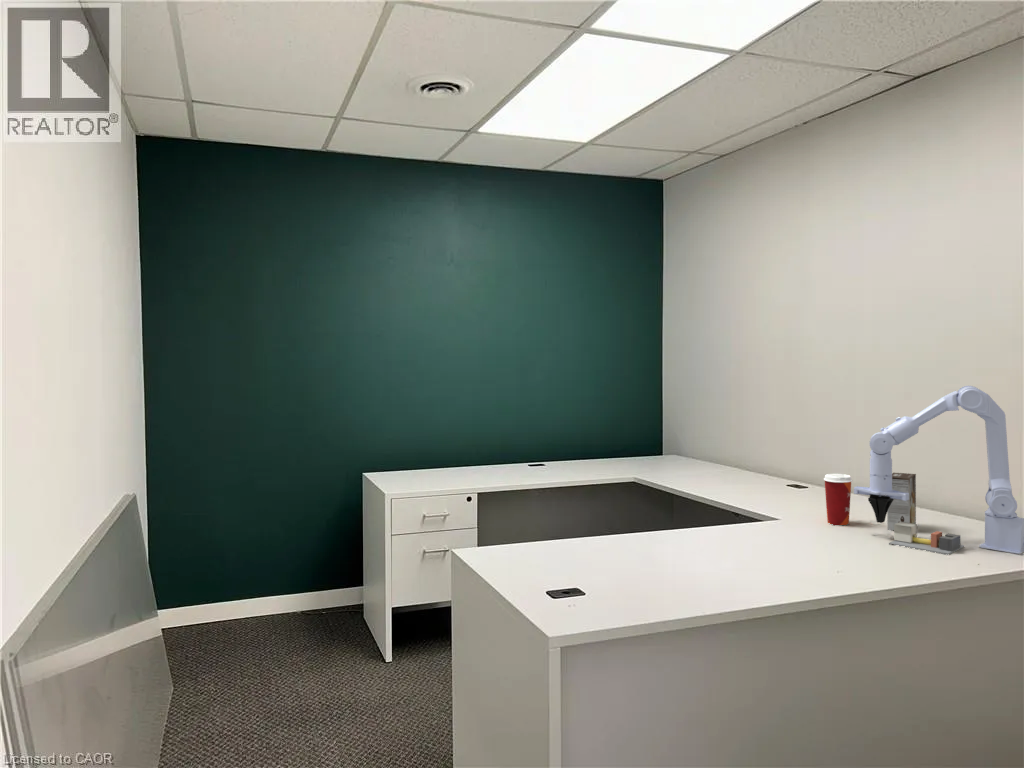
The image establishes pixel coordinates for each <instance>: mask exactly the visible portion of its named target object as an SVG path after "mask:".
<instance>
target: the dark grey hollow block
mask: <svg viewBox="0 0 1024 768" xmlns="http://www.w3.org/2000/svg"><path fill="white" fill-rule="evenodd" d="M960 545H961V534H955V533H949V532H948V533H946V534H944V535H942V537H939V549H940V550H946V551H951V552H952V551H954V550H956V549H958V548H960Z"/></svg>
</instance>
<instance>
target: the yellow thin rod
mask: <svg viewBox="0 0 1024 768" xmlns="http://www.w3.org/2000/svg"><path fill="white" fill-rule="evenodd" d="M912 542H916V543H922V544H928V545H931V539H929V538H923V537H922V538H921V537H918V536H917V537H912ZM938 545H939V543H938Z"/></svg>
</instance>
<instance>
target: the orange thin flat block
mask: <svg viewBox="0 0 1024 768" xmlns="http://www.w3.org/2000/svg"><path fill="white" fill-rule="evenodd" d="M942 536H943V531H938V530H936V531H934V532H931V533H930V540H931V547H934V548H937V547H939V545H938V543H939V537H942Z"/></svg>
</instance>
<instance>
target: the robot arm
mask: <svg viewBox="0 0 1024 768" xmlns="http://www.w3.org/2000/svg"><path fill="white" fill-rule="evenodd" d="M959 407H960V408H962V410H964V411H967V412H970V413H974V414H975V415H977V416H978V417H980V418H981V419H982V420H983V421H984V423H985V424H984V425H985V426H984V427H985V439H986V442H985V443H986V454H987V455H986V456H987V469H988V471H987V472H988V490H987V492H986V493H985V496H984V498H985V499H984V501H985V502H986V504H987V506H988V508H987V509H986V510H985V511H984V542H983V543H981V544H979V545H978V547H979V548H981V549H988V550H993V551H1000V552H1006V553H1011V554H1016V555H1017V554H1018V555H1020V554H1022V553H1024V518H1023V517H1019V516H1018V513H1017V512H1016V511H1017V509H1018V503H1017V500H1016V498H1015V497H1014V495H1013V489H1012V484H1011V478H1010V467H1009V466H1010V464H1009V463H1010V462H1009V449H1008V436H1007V434H1008V433H1007V419H1006V414H1005V411H1004V410H1003V409H1002V408H1001V407H1000V406H999V404H997V402H996V401H995V400H994V399H993V397H991V395H990V394H988V393H987V392H985V391H984V390H981V389H980V388H978V387H976V386H973V385H964V386H962V387H960V388H959V389H958V390H954V391H952V392H950V393H948V394H945V395H944V396H942V397H940V398H939V399H937V400H936V401H934V402H933V403H932V404H930V405H928V406H927V407H925V408H923V409H922V410H920V411H919V412H918V413H916V414H915V415H913V416H906V415H904V416H902V417H900V416H898V417H896V418H895V421H894V422H892V423H891V424H889V425H887V426H886V427H881V428H880V429H879V430H880V431H879V432H875V433H874V434H872V435H871V437H870V438H869V439H870V440H869V448H870V449H871V450H870V452H869V455H870V458H869V487H867V486H858V485H857V486H854V487H853V494H854V495H865V496H869V497H868V498H867V499H868V502H869V504H870V506H871V509H872V510H873V512H874V516H875V521H876V522H877V523H880V524H882V523H885V521H886V519H887V518H886V517H887V511H888V509H889V507H890V505H891V503H892V502H893V499H900V500H904V501H907V500H909V493H905V492H900V491H895V490H892V473H893V458H892V449H893V446H899V445H900V444H902V443H904V442H905V441H907V440H908V439H911V438H912V437H914V436H916V435H918V433H919V430H920V429H919V428H920V426H922V425H925V424H926V423H927V422H929V421H932V420H933V419H935V418H937V417H938V416H940V415H942V414H944V413H946V412H950V411H951V412H953V411H954V412H955V411H959V410H960V408H959Z"/></svg>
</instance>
